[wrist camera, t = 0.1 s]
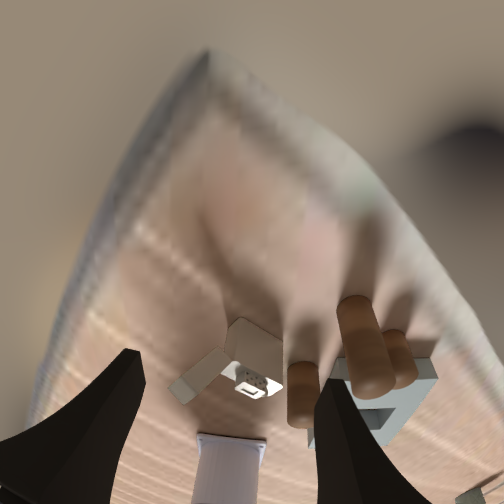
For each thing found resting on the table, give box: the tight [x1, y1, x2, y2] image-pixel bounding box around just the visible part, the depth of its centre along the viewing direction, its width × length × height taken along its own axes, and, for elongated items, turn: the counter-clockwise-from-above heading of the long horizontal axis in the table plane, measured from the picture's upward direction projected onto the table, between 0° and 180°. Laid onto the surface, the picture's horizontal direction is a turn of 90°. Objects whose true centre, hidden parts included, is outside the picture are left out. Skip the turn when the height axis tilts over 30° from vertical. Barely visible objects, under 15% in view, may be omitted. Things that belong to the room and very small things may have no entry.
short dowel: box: [382, 330, 419, 390], centre depth 21 cm, size 3×3×4 cm
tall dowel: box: [336, 295, 396, 400], centre depth 19 cm, size 3×3×7 cm
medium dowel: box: [287, 361, 320, 429], centre depth 23 cm, size 3×3×5 cm
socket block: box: [307, 357, 438, 449], centre depth 26 cm, size 12×9×2 cm
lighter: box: [168, 317, 283, 405], centre depth 20 cm, size 7×2×8 cm, turn 53°
